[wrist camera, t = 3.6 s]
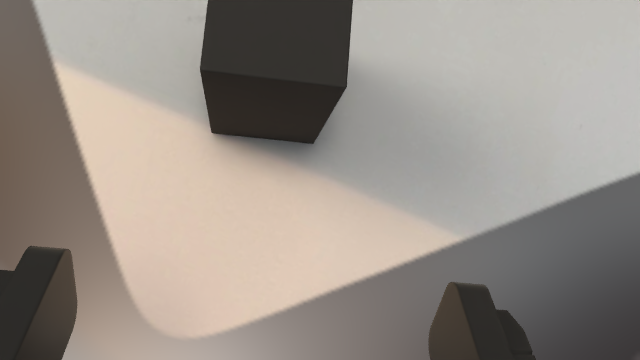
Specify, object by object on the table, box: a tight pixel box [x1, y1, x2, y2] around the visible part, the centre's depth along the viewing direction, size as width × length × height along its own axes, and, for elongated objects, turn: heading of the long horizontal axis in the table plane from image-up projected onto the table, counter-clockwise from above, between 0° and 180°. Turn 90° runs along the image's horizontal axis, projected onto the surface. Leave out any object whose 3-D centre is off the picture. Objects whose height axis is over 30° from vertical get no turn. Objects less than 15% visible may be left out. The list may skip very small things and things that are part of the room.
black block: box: [200, 0, 353, 144], centre depth 22 cm, size 4×4×8 cm
